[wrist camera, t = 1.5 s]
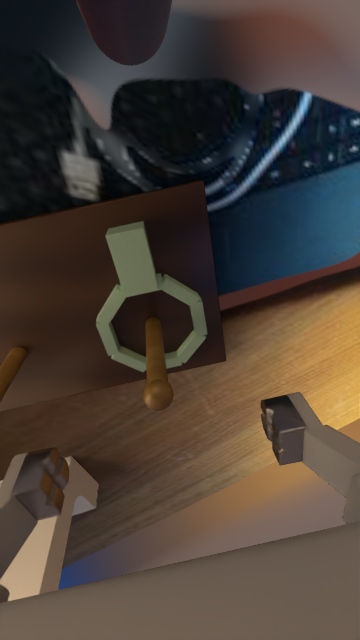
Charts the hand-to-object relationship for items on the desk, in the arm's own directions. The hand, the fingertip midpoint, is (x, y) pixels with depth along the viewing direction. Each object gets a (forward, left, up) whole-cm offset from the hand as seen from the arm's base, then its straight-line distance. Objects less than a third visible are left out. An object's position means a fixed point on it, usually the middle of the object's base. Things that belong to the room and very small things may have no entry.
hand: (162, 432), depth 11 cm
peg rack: (+3, -8, -19) cm, 21 cm away
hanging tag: (+3, -1, -17) cm, 18 cm away
